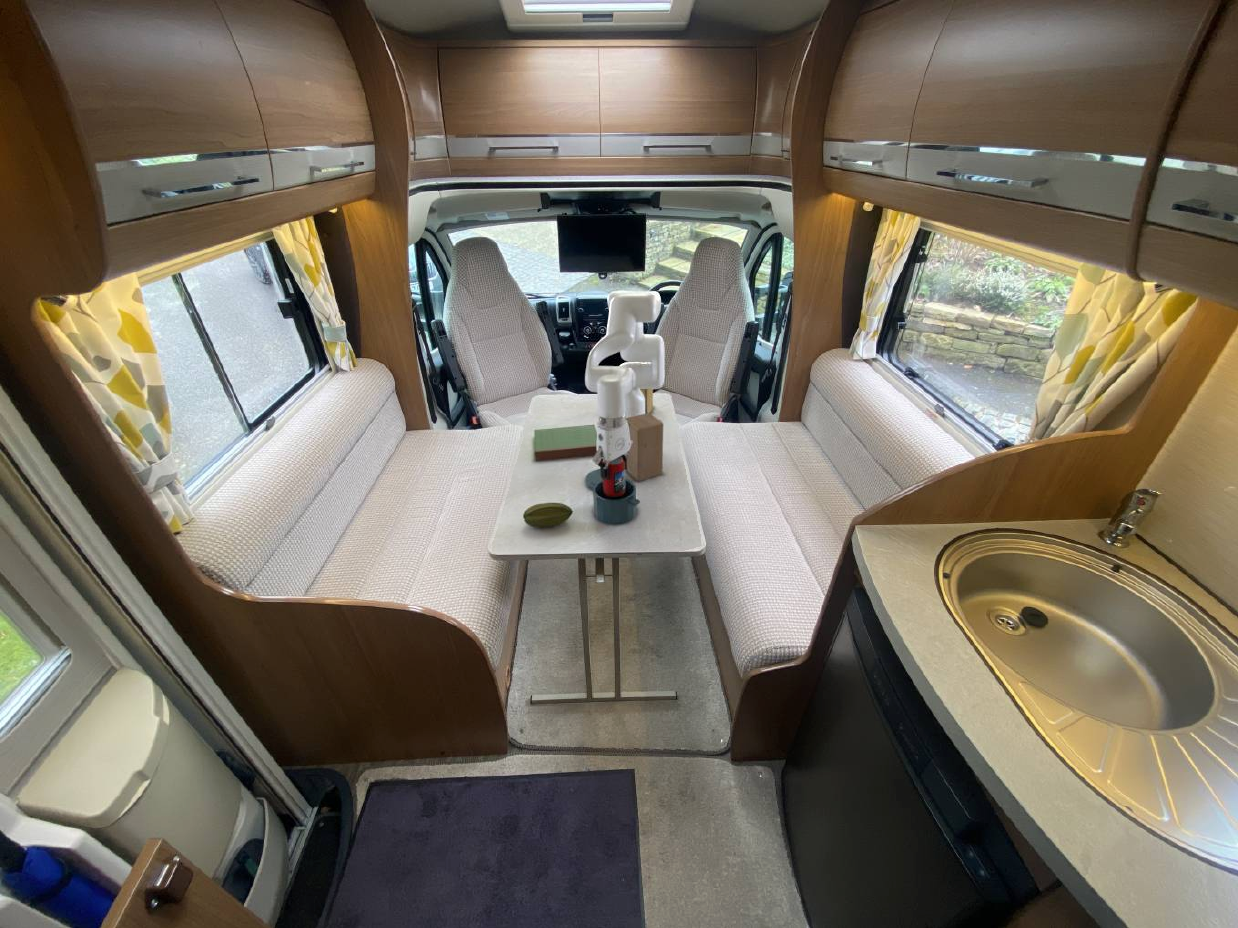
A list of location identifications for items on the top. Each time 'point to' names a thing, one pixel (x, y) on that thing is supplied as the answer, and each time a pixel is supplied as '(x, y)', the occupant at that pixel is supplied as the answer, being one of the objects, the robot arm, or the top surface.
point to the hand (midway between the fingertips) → (613, 472)
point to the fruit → (547, 514)
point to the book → (565, 442)
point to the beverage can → (615, 478)
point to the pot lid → (593, 477)
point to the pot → (614, 503)
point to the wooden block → (645, 447)
